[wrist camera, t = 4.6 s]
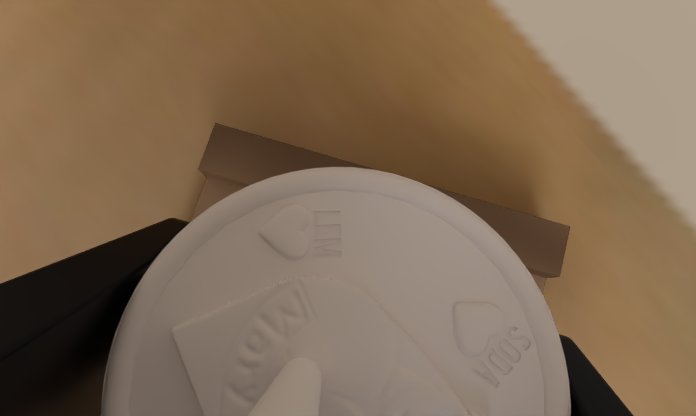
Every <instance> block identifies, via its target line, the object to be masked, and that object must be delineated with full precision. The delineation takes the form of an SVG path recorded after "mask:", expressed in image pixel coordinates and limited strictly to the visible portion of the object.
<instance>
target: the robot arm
mask: <svg viewBox="0 0 696 416" xmlns="http://www.w3.org/2000/svg"><path fill="white" fill-rule="evenodd" d="M188 224H189V222H186V221H183V220H179V219H176V218H169V219H166V220H164V221H161V222H159V223H156V224H153V225H151V226H148V227H146V228H143V229H140V230H138V231H135V232H133V233H130V234H128V235H125V236H122V237H120V238H117V239H115V240H112V241H109V242H107V243H104V244H102V245H99V246H97V247H94V248H91V249H89V250H86V251H84V252H81V253H78V254H76V255H73V256H71V257H68V258H66V259H63V260H60V261H58V262H55V263H53V264H50V265H48V266H45V267H42V268H40V269H37V270H35V271H32V272H29V273H27V274H24V275H22V276H19V277H17V278H14V279H11V280H9V281H6V282H4V283H1V284H0V416H101V403H102V394H103V384H104V377H105V372H106V367H107V362H108V357H109V353H110V349H111V346H112V343H113V339H114V336H115V333H116V330H117V327H118V325H119V322H120V320H121V317H122V315H123V312H124V310H125V308H126V306H127V304H128V302H129V300H130V298H131V296H132V294H133V292H134V290H135V288H136V287H137V285H138V284H139V282H140V281H141V279H142V277H143V276H144V274H145V273H146V271H147V270H148V268H149V267H150V265H151V264H152V263H153V262H154V260H155V259H156V258H157V256H158V255H159V254H160V253H161V251H162V250H163V249H164V248H165V247H166V246H167V245H168V244H169V243H170V241H171V240H172V239H173V238H174V237H175V236H176V235H177V234H178V233H179V232H180V231H181V230H182V229H184V228H185V227H186V226H187V225H188ZM559 337H560V340H561V344H562V348H563V352H564V356H565V360H566V366H567V372H568V378H569V387H570V401H571V416H633V415H632V413H631V412H630V411H629V410H628V408H627V407H626V406H625V405H624V403H623V402H622V401H621V400H620V398H619V397H618V396H617V395H616V394H615V392H614V391H613V390H612V389H611V387H610V386H609V385H608V384H607V382H606V381H605V380H604V379H603V377H602V376H601V375H600V374H599V373H598V371H597V370H596V369H595V368H594V366H593V365H592V364H591V363H590V361H589V360H588V359H587V358H586V356H585V355H584V354H583V353H582V352H581V350H580V349H579V348H578V347H577V345H576V344H575V343H574V342H573V341H572V340H571V339H570V338H569V337H566V336H563V335H560V334H559Z"/></svg>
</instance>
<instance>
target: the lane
mask: <svg viewBox="0 0 696 416" xmlns="http://www.w3.org/2000/svg"><path fill="white" fill-rule="evenodd" d="M324 167H355V168H364V169H371V168H368V167H364V166H361V165H358V164H354V163H351V162H347V161H344V160H340V159H337V158H334V157H330V156H327V155H323V154H320V153H316V152H313V151H310V150H306V149H303V148H299V147H296V146H292V145H289V144H286V143H282V142H279V141H275V140H272V139H268V138H265V137H262V136H258V135H255V134H251V133H248V132H244V131H241V130H238V129H234V128H231V127H227V126H224V125H220V124H217V123H215V126H214V128H213V131H212V133H211V136H210V139H209V141H208V144H207V147H206V149H205V152H204V155H203V157H202V160H201V163H200V165H199V168H198V170H199V171H201V172H202V173H203V174H204V175H205V176H206V177H207V178H206V181H205V184H204V186H203V189H202V192H201V194H200V197H199V200H198V203H197V205H196V208H195V211H194V213H193V216H192V219H191V221H193V220H194V219H195V218H196V217H198V216H199V215H200V214H202V213H203V212H204V211H206V210H207V209H208V208H210V207H211V206H212V205H214V204H216V203H217V202H219V201H221V200H222V199H224V198H226V197H227V196H229V195H231V194H233V193H235V192H237V191H239V190H241V189H243V188H245V187H247V186H249V185H252V184H254V183H257V182H260V181H262V180H265V179H268V178H270V177H274V176H278V175H282V174H285V173H289V172H294V171H300V170H305V169H311V168H324ZM373 170H375V169H373ZM422 184H423V183H422ZM425 185H426V184H425ZM427 186H430V185H427ZM430 187H432V188H434V189H436V190H438V191H440V192H442V193H444V194H446V195H447V196H449V197H451V198H453V199H455V200H456V201H458V202H459V203H461V204H462V205H464V206H465V207H467V208H468V209H470V210H471V211H472V212H474V213H475V214H476V215H477V216H479V217H480V218H481V219H482V220H483V221H485V222H486V223H487V224H488V225H489V226H490V227H491V228H492V229H493V230H494V231H496V232H497V233H498V234H499V235H500V236H501V237H502V238H503V239H504V240H505V242H506V243H507V244H508V245H509V246H510V247H511V249H512V250H513V251H514V252H515V253H516V254H517V256H518V257H519V258H520V260H521V261H522V263H523V264H524V265H525V267H526V268H527V270H528V271H529V272H530V274H531V276H532V277H533V279H534V281H535V282H536V284H537V286H538V288H539V289H540V291H541V293H542V295H543V290H544V286H545V281H546V278H552V277H560V273H561V268H562V264H563V259H564V254H565V249H566V244H567V240H568V235H569V230H570V226H567V225H563V224H560V223H556V222H553V221H550V220H546V219H543V218H539V217H536V216H532V215H529V214H526V213H522V212H519V211H515V210H512V209H508V208H505V207H502V206H498V205H495V204H491V203H488V202H484V201H481V200H478V199H474V198H471V197H467V196H464V195H460V194H457V193H454V192H450V191H447V190H443V189H440V188H436V187H433V186H430ZM191 221H190V222H191Z"/></svg>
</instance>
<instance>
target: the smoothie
mask: <svg viewBox="0 0 696 416" xmlns="http://www.w3.org/2000/svg"><path fill="white" fill-rule="evenodd" d="M101 416H571V401H570V387H569V378H568V372H567V366H566V360H565V356H564V352H563V348H562V344H561V340H560V337H559V334H558V331H557V328H556V325H555V322H554V320H553V317H552V314H551V312H550V310H549V308H548V306H547V303H546V301H545V299H544V297H543V295H542V293H541V291H540V289H539V288H538V286H537V284H536V282H535V281H534V279H533V277H532V276H531V274H530V272H529V271H528V270H527V268H526V267H525V265H524V264H523V263H522V261H521V260H520V258H519V257H518V256H517V254H516V253H515V252H514V251H513V250H512V249H511V247H510V246H509V245H508V244H507V243H506V242H505V240H504V239H503V238H502V237H501V236H500V235H499V234H498V233H497V232H496V231H494V230H493V229H492V228H491V227H490V226H489V225H488V224H487V223H486V222H485V221H483V220H482V219H481V218H480V217H479V216H477V215H476V214H475V213H474V212H472V211H471V210H470V209H468V208H467V207H465V206H464V205H462V204H461V203H459V202H458V201H456V200H455V199H453V198H451V197H449V196H447V195H446V194H444V193H442V192H440V191H438V190H436V189H434V188H432V187H430V186H427V185H425V184H422V183H420V182H418V181H415V180H412V179H409V178H406V177H403V176H399V175H396V174H392V173H388V172H383V171H378V170H373V169H364V168H355V167H324V168H311V169H305V170H300V171H294V172H289V173H285V174H282V175H278V176H274V177H270V178H268V179H265V180H262V181H260V182H257V183H254V184H252V185H249V186H247V187H245V188H243V189H241V190H239V191H237V192H235V193H233V194H231V195H229V196H227V197H226V198H224V199H222V200H221V201H219V202H217V203H216V204H214V205H212V206H211V207H210V208H208V209H207V210H206V211H204V212H203V213H202V214H200V215H199V216H198V217H196V218H195V219H194V220H193V221H191V222H190V223H189V224H188V225H187V226H186V227H185V228H184V229H182V230H181V231H180V232H179V233H178V234H177V235H176V236H175V237H174V238H173V239H172V240H171V241H170V243H169V244H168V245H167V246H166V247H165V248H164V249H163V250H162V251H161V253H160V254H159V255H158V256H157V258H156V259H155V260H154V262H153V263H152V264H151V265H150V267H149V268H148V270H147V271H146V273H145V274H144V276H143V277H142V279H141V281H140V282H139V284H138V285H137V287H136V288H135V290H134V292H133V294H132V296H131V298H130V300H129V302H128V304H127V306H126V308H125V310H124V312H123V315H122V317H121V320H120V322H119V325H118V327H117V330H116V333H115V336H114V339H113V343H112V346H111V349H110V353H109V357H108V362H107V367H106V372H105V377H104V384H103V394H102V403H101Z"/></svg>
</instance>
